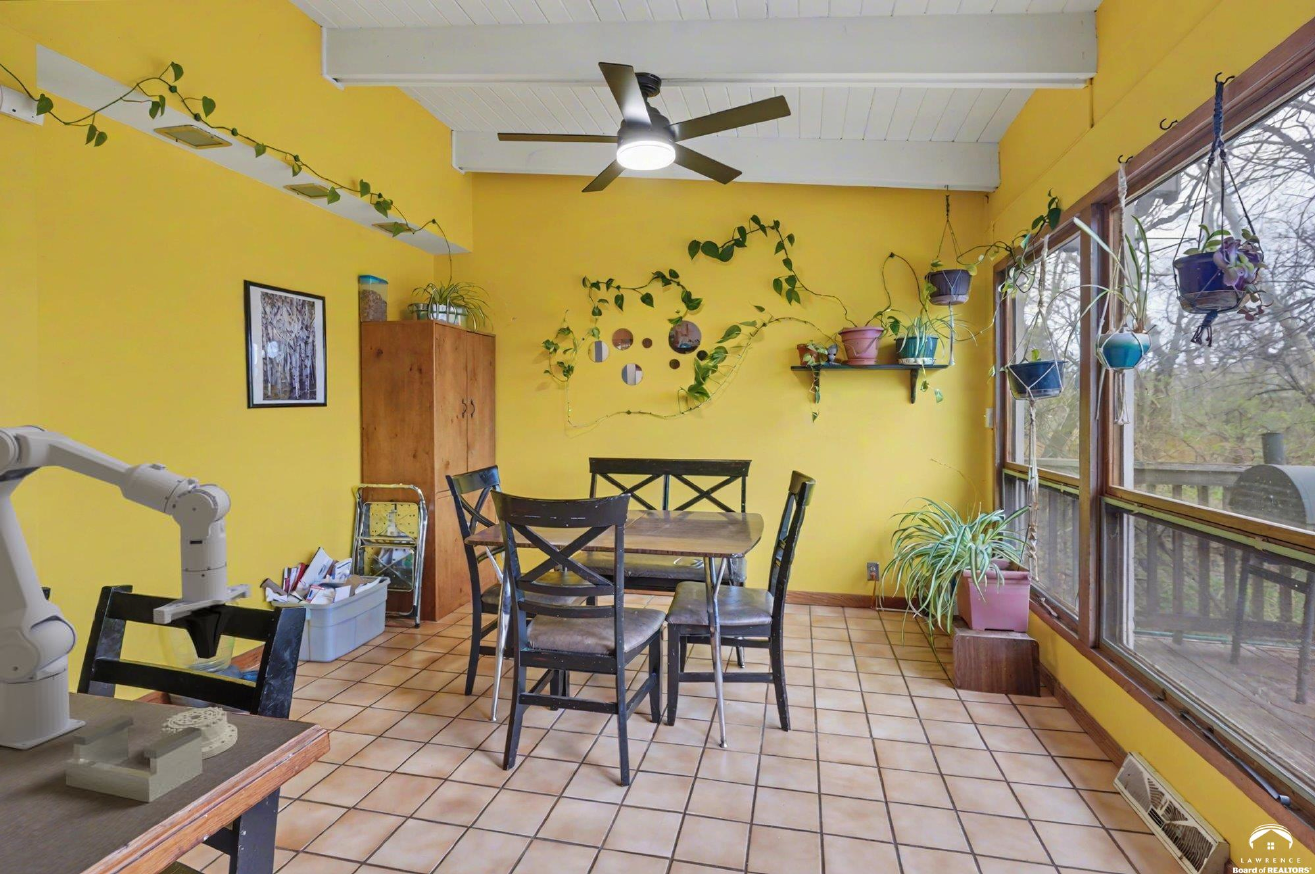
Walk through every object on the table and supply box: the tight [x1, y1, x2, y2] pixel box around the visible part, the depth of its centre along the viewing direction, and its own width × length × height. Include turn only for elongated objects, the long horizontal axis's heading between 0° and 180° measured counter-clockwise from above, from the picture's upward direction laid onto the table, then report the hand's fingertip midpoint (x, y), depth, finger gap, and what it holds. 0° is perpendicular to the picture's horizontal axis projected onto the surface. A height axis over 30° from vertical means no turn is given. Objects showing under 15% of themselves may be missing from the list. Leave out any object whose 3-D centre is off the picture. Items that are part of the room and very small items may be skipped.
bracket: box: [64, 715, 203, 803], centre depth 88 cm, size 14×7×6 cm, turn 74°
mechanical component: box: [154, 706, 238, 761], centre depth 96 cm, size 10×4×10 cm
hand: (206, 656), depth 104 cm, fingers closed
